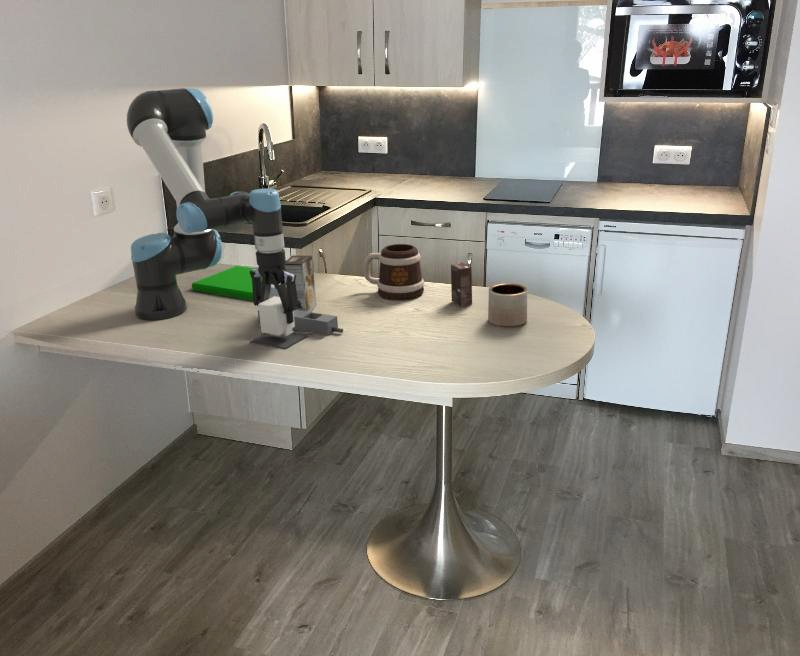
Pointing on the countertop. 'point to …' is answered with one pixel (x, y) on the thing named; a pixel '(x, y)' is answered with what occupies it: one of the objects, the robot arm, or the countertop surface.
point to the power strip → (314, 322)
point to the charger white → (272, 316)
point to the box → (461, 284)
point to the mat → (279, 340)
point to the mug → (397, 272)
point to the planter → (507, 305)
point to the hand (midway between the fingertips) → (278, 332)
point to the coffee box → (303, 280)
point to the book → (228, 283)
